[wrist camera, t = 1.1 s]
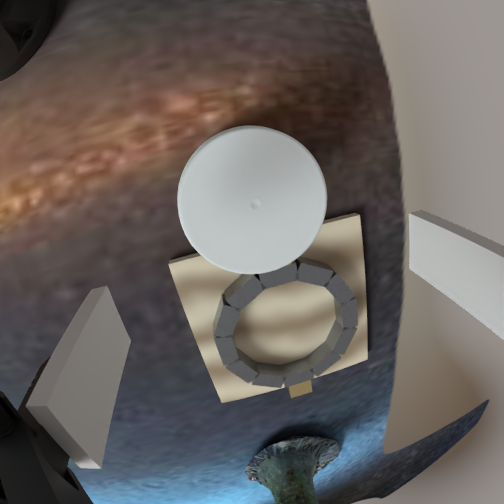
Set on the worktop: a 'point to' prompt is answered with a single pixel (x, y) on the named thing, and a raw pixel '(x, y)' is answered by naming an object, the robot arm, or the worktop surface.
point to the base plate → (277, 309)
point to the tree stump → (292, 467)
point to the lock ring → (299, 370)
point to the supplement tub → (251, 199)
